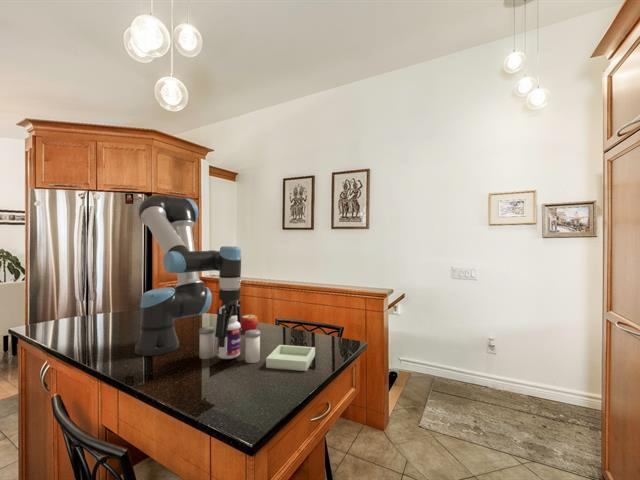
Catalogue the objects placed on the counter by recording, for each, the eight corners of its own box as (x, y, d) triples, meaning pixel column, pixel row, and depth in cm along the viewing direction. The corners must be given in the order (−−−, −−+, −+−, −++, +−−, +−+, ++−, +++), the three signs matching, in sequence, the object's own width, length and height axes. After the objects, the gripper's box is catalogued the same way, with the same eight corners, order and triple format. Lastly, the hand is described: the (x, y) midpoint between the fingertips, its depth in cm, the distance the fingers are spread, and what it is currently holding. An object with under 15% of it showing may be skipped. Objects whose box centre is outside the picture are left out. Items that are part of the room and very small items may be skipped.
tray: (266, 367, 104) (266, 358, 104) (279, 352, 117) (279, 344, 117) (306, 371, 101) (306, 361, 101) (315, 355, 115) (315, 347, 115)
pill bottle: (233, 361, 107) (234, 320, 107) (212, 359, 109) (213, 318, 109) (244, 352, 115) (244, 314, 115) (224, 351, 116) (224, 313, 116)
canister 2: (242, 362, 108) (242, 333, 108) (248, 357, 113) (248, 329, 113) (256, 363, 107) (257, 334, 107) (262, 358, 112) (262, 330, 112)
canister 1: (195, 358, 111) (195, 330, 111) (204, 353, 116) (204, 326, 116) (209, 359, 110) (209, 331, 110) (217, 354, 115) (217, 327, 115)
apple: (261, 330, 147) (261, 309, 147) (248, 335, 139) (248, 313, 139) (249, 328, 151) (249, 307, 151) (235, 332, 144) (236, 310, 144)
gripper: (225, 294, 101) (224, 363, 101) (251, 285, 121) (250, 342, 121) (204, 292, 102) (203, 361, 102) (233, 284, 123) (232, 341, 123)
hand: (228, 351), depth 112 cm, fingers closed on pill bottle, 8 cm apart
